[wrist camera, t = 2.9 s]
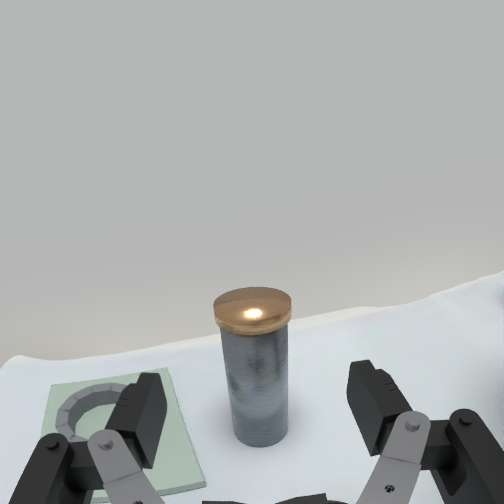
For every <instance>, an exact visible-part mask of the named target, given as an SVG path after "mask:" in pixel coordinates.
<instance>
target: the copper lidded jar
mask: <svg viewBox="0 0 504 504" xmlns="http://www.w3.org/2000/svg"><path fill="white" fill-rule="evenodd" d="M213 306H214V314H215V321H216V324H217V325H218V326H219V327H220V331H221V339H222V347H223V355H224V362H225V370H226V377H227V384H228V392H229V399H230V405H231V412H232V419H233V425H234V432H235V435H236V437H237V438H238V439H239V440H240V441H241V442H242V443H244V444H246V445H249V446H253V447H267V446H271V445H274V444H276V443H278V442H279V441H281V440H282V439H283V438H284V436H285V435H286V433H287V429H288V322H289V321H290V319H291V298H290V296H289V295H288V294H286V293H285V292H283V291H281V290H277V289H274V288H267V287H248V288H241V289H236V290H232V291H229V292H226V293H224V294H222V295H221V296H219V297H218V298H217V299H216V300H215V301H214V305H213Z"/></svg>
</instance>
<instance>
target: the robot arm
mask: <svg viewBox="0 0 504 504" xmlns="http://www.w3.org/2000/svg"><path fill="white" fill-rule="evenodd" d="M347 400H348V403H349V406H350V408H351V411H352V413H353V415H354V418H355V420H356V422H357V425H358V427H359V430H360V432H361V434H362V437H363V439H364V442H365V444H366V446H367V449H368V451H369V454H370V456H375V455H379V454H380V457H379V460H378V462H377V464H376V466H375V468H374V470H373V472H372V474H371V476H370V478H369V480H368V482H367V484H366V486H365V488H364V490H363V492H362V494H361V496H360V497H359V499H358V501H357V503H356V504H408V503H409V500H410V498H411V495H412V492H413V490H414V487H415V484H416V481H417V478H418V475H419V472H420V470H430V472H431V474H432V476H433V478H434V481H435V483H436V485H437V487H438V490H439V492H440V494H441V496H442V499H443V501H444V503H445V504H504V451H503V450H502V448H501V447H500V445H499V444H498V442H497V441H496V439H495V438H494V436H493V435H492V433H491V432H490V431H489V429H488V428H487V426H486V425H485V423H484V422H483V421H482V419H481V418H480V416H479V415H478V414H477V413H476V412H474V411H472V410H469V409H459V410H456V411H454V412H453V413H452V414H451V416H450V418H449V420H429V418H428V417H427V416H426V415H425V414H423V413H421V412H417V411H413V410H412V408H411V407H410V405H409V403H408V402H407V400H406V399H405V397H404V396H403V394H402V393H401V391H400V390H399V388H398V387H397V385H396V384H395V382H394V380H393V379H392V377H391V376H390V375H389V374H388V373H386V372H385V371H383V370H382V369H377V370H375V368H374V366H373V365H372V363H371V362H370V360H362V361H355V362H352V363H351V365H350V371H349V378H348V384H347ZM166 414H167V399H166V395H165V392H164V388H163V384H162V380H161V376H160V374H159V373H147V372H142V373H141V374H140V376H139V378H138V380H137V382H136V383H130V384H129V385H128V386H126V387H125V388H124V389H123V390H122V392H121V394H120V396H119V400H117V403H116V406H115V407H114V409H113V411H112V413H111V415H110V418H109V420H108V422H107V424H106V426H105V428H104V430H100V431H97V432H95V433H94V434H92V435H91V436H90V438H89V439H88V441H82V442H69V441H68V440H67V438H66V437H65V436H64V435H62V434H60V433H50V434H47V435H45V436H43V437H42V438H41V439H40V440H39V442H38V444H37V445H36V447H35V449H34V451H33V453H32V455H31V457H30V459H29V461H28V463H27V465H26V467H25V469H24V471H23V473H22V475H21V477H20V480H19V482H18V484H17V486H16V488H15V490H14V492H13V495H12V497H11V499H10V501H9V504H90V503H91V499H92V496H93V492H94V490H105V491H106V493H107V495H108V497H109V499H110V501H111V503H112V504H165V503H164V501H163V500H162V499H161V497H160V496H159V494H158V493H157V491H156V490H155V489H154V487H153V486H152V484H151V483H150V481H149V480H148V478H147V477H146V475H145V473H144V472H143V468H144V469H152V468H153V464H154V460H155V456H156V452H157V448H158V445H159V441H160V437H161V433H162V429H163V426H164V422H165V418H166ZM202 504H244V503H239V502H233V501H202ZM276 504H347V503H344V502H339V501H332V500H327V498H326V493H323V494H317V495H310V496H302V497H295V498H292V499H289V500H286V501H282V502H279V503H276Z"/></svg>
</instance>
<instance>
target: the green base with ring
mask: <svg viewBox="0 0 504 504" xmlns="http://www.w3.org/2000/svg"><path fill="white" fill-rule="evenodd" d="M145 372H147V373H159V374H160V376H161V380H162V384H163V388H164V392H165V395H166V399H167V414H166V418H165V422H164V426H163V429H162V433H161V437H160V441H159V445H158V448H157V452H156V456H155V460H154V464H153V468H152V469H144V468H143V472H144V473H145V475H146V477H147V478H148V480H149V481H150V483H151V484H152V486H153V487H154V489H155V490H156V491H157V493H158V494H159V496H163V495H168V494H174V493H179V492H184V491H188V490H193V489H197V488H202V487H206V483H205V481H204V478H203V475H202V473H201V470H200V468H199V465H198V462H197V460H196V457H195V454H194V451H193V448H192V446H191V443H190V440H189V437H188V434H187V431H186V428H185V425H184V422H183V419H182V416H181V413H180V409H179V406H178V403H177V400H176V396H175V393H174V390H173V386H172V383H171V379H170V375H169V372H168V368H167V367H166V368H161V369H156V370H151V371H145ZM141 373H142V372H140V373H134V374H128V375H122V376H116V377H109V378H103V379H96V380H89V381H81V382H73V383H64V384H55V385H51V389H50V393H49V397H48V402H47V406H46V411H45V416H44V421H43V426H42V431H41V437H40V439H41V438H42V437H43V436H45V435H47V434H50V433H60V434H62V435H64V436H65V437H66V438H67V440H68V441H69V442H82V441H88V439H89V438H90V436H91V435H92V434H94V433H95V432H97V431H100V430H104V428H105V426H106V424H107V422H108V420H109V418H110V415H111V413H112V411H113V409H114V407H115V406H116V403H117V400H119V396H120V394H121V392H122V390H123V389H124V388H125V387H126V386H128V385H129V384H130V383H136V382H137V380H138V378H139V376H140V374H141ZM105 502H111V501H110V499H109V497H108V495H107V493H106V491H105V490H94V492H93V496H92V499H91V503H105Z"/></svg>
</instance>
